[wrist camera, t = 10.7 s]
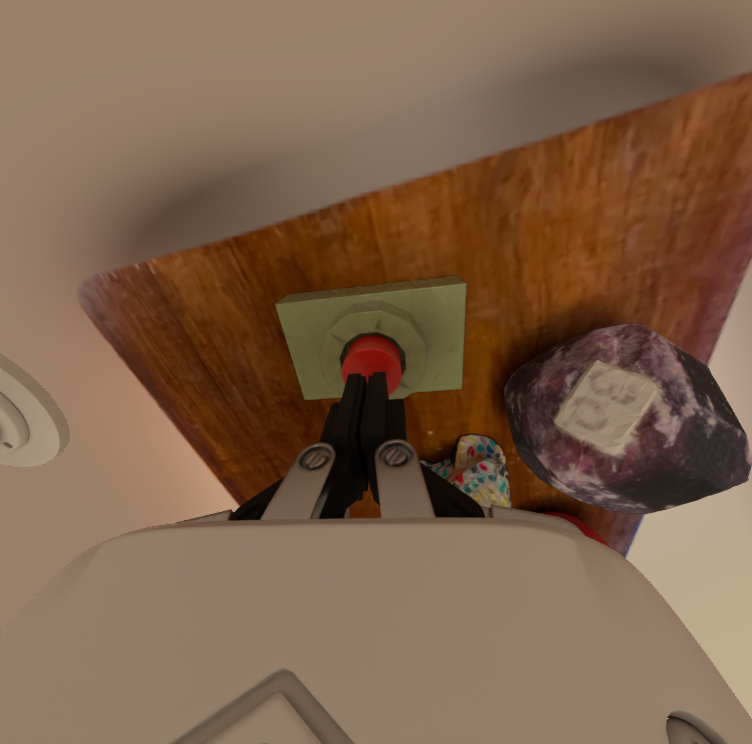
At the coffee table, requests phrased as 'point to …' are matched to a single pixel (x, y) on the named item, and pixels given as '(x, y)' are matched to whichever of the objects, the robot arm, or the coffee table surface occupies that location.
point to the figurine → (477, 470)
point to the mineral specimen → (625, 422)
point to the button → (374, 360)
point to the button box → (378, 332)
